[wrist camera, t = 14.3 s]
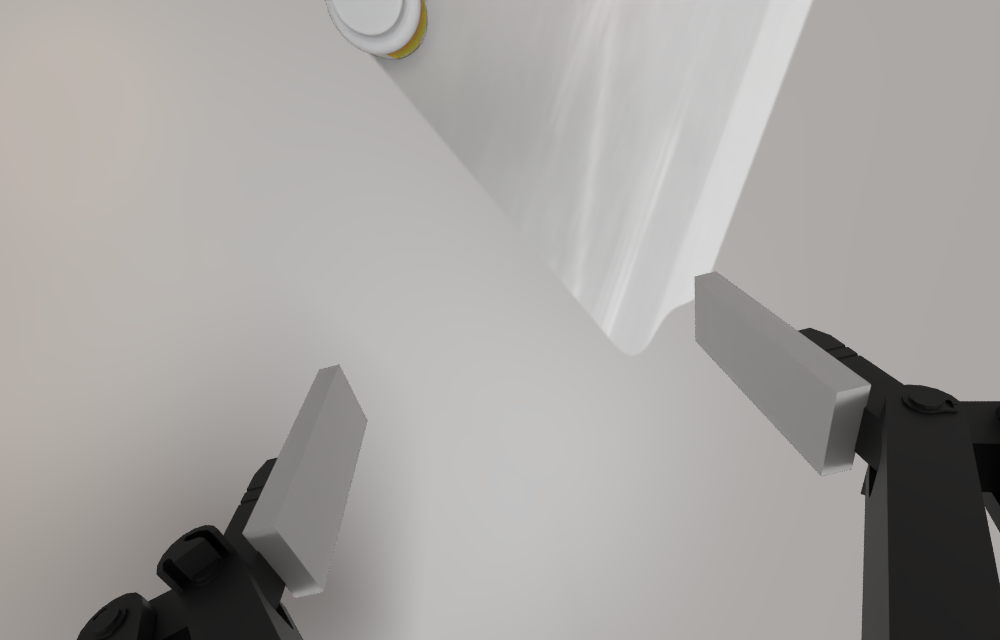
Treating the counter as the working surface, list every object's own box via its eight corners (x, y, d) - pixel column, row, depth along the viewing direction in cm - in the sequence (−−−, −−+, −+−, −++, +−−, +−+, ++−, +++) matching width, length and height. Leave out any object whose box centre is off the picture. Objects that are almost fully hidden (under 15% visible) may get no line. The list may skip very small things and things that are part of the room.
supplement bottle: (430, -23, 32) (421, -63, 23) (425, 65, 35) (415, 59, 26) (351, -38, 31) (309, -86, 22) (351, 53, 34) (314, 43, 25)
